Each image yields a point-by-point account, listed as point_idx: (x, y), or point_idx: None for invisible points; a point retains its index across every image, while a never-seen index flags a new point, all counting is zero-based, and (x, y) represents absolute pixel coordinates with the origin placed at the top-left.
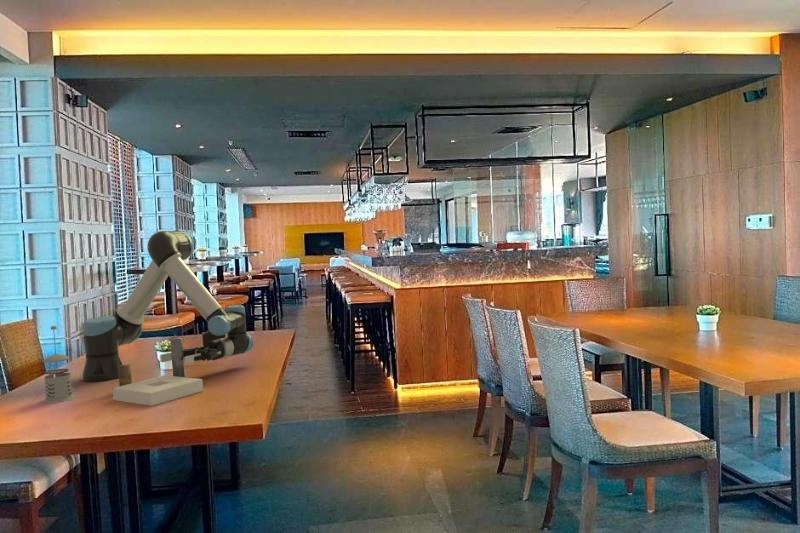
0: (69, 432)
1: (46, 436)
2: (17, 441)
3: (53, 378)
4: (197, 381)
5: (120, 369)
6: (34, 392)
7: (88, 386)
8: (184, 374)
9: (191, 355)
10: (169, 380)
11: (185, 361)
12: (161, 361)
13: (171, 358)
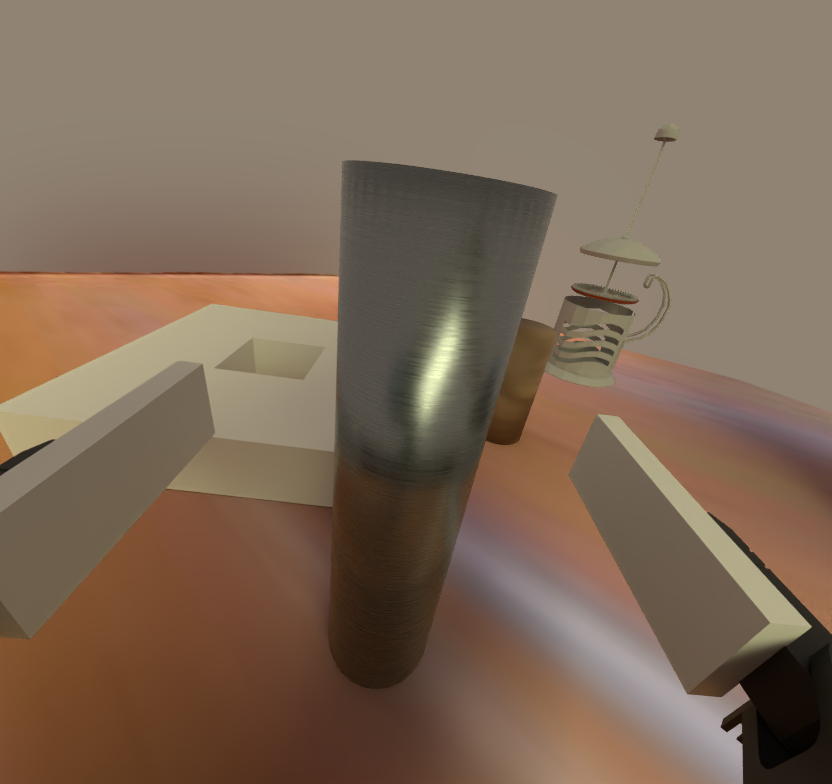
0: (286, 283)
1: (309, 280)
2: (333, 277)
3: (568, 298)
4: (33, 394)
5: None
6: (745, 400)
7: (747, 460)
8: (338, 623)
9: (123, 402)
10: (251, 386)
11: (202, 407)
12: (577, 470)
13: (639, 573)
